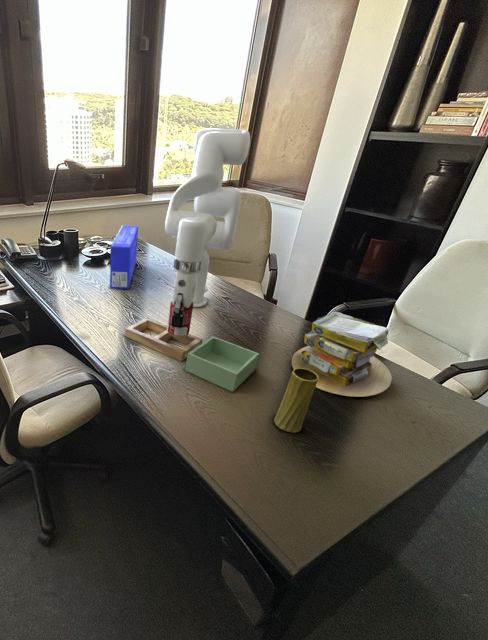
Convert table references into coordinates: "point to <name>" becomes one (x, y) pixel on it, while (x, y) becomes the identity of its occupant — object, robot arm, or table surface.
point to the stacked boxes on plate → (345, 356)
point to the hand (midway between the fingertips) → (179, 321)
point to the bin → (221, 363)
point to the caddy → (161, 339)
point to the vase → (296, 400)
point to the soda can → (186, 321)
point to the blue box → (123, 257)
